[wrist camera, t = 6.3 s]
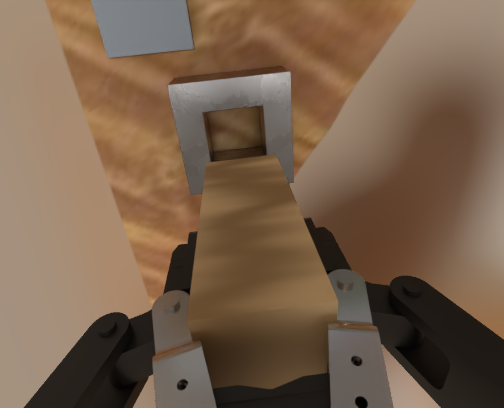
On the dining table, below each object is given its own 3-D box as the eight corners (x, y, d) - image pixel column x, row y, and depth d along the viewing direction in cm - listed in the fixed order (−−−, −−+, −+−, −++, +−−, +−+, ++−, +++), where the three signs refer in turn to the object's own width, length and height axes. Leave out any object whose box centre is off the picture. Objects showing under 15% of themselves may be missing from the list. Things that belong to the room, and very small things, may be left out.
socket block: (281, 66, 29) (290, 71, 25) (285, 165, 34) (293, 182, 30) (174, 77, 29) (167, 85, 25) (194, 175, 34) (190, 195, 30)
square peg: (276, 154, 18) (338, 300, 8) (279, 213, 20) (332, 387, 10) (206, 162, 18) (186, 321, 8) (216, 221, 20) (210, 404, 10)
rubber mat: (176, -60, 24) (175, -62, 24) (194, 48, 28) (193, 48, 27) (79, -50, 24) (75, -52, 23) (110, 57, 28) (107, 58, 27)
